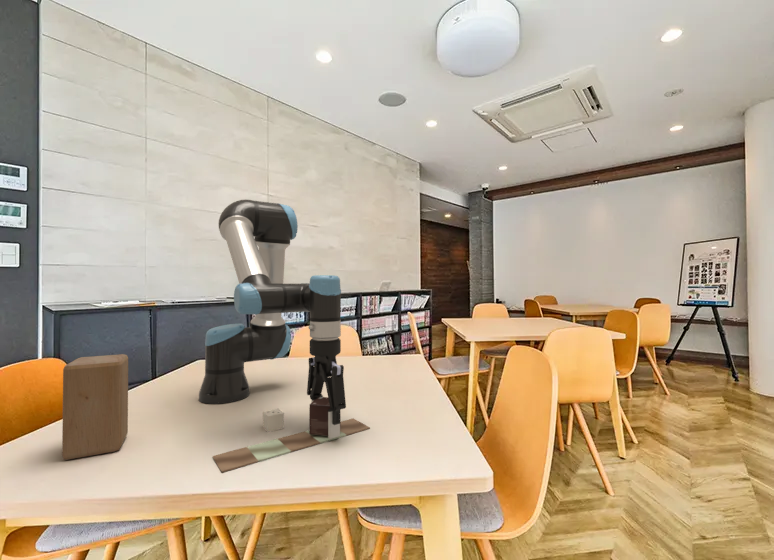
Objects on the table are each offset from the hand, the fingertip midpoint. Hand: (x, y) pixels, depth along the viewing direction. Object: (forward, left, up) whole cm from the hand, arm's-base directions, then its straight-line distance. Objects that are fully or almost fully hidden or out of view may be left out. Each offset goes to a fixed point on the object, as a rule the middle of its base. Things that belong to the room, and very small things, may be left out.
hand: (325, 431), depth 88 cm
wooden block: (-25, -44, -1) cm, 51 cm away
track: (0, -7, -1) cm, 7 cm away
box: (0, 0, 0) cm, 0 cm away
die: (-12, -9, -1) cm, 15 cm away
